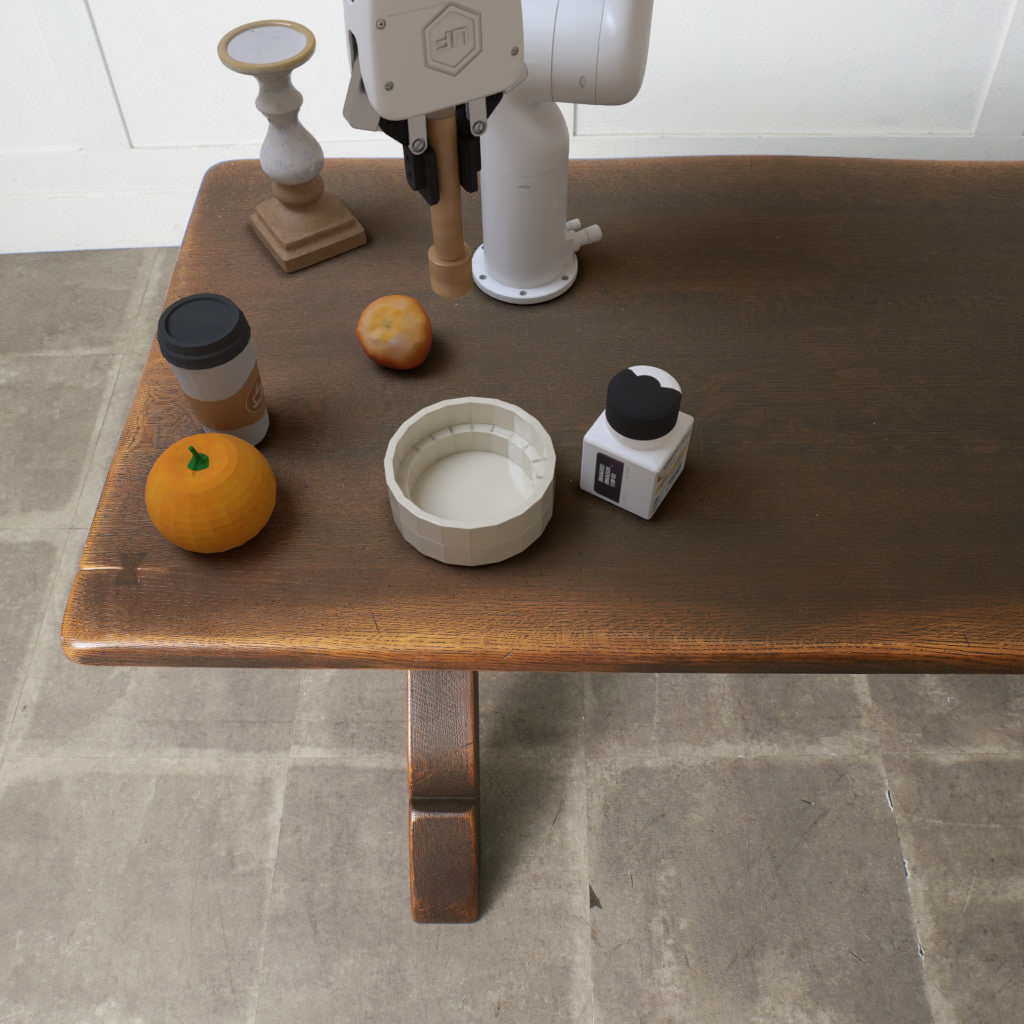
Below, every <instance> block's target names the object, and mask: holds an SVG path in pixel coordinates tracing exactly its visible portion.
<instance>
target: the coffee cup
mask: <svg viewBox="0 0 1024 1024" xmlns="http://www.w3.org/2000/svg"><path fill="white" fill-rule="evenodd" d="M251 331H252V330H251V326H250V324H249V322H248V320H247V317H246V316H245V313H244V311H242V309H241V308H240V307H239V306H237V304H236V303H235V302H234V301H233V300H232V299H231V298H229V297H227V296H225V295H223V294H218V293H213V292H212V293H211V292H210V293H209V292H202V293H195V294H191V295H187V296H184V297H182V298H180V299H178V300H175V301H174V302H172V304H169V306H167V307H166V308H165V309H164V311H162V313H161V315H160V316H159V319H158V321H157V332H156V334H157V335H156V339H157V342H158V346H159V351H160V353H161V357H163V358H164V360H166V362H167V363H168V365H169V366H170V368H171V370H172V372H173V374H174V376H175V378H176V380H177V382H178V384H179V387H180V389H181V391H182V393H183V396H185V399H186V400H187V403H188V404H189V406H190V408H191V410H192V412H193V414H194V416H195V418H196V419H197V421H198V422H199V424H200V425H201V428H202V429H203V431H204V433H221V434H228V435H233V436H235V437H238V438H240V439H242V440H244V441H246V442H248V443H250V444H252V445H253V446H254V447H255V446H256V445H258V444H259V443H260V442H262V441H263V440H264V438H265V436H266V435H267V432H268V429H269V426H270V417H269V414H268V412H269V411H268V408H267V403H266V402H267V401H266V396H265V391H264V387H263V382H262V377H261V374H260V369H259V365H258V360H257V359H256V356H255V351H254V347H253V342H252V339H251V337H252V332H251Z"/></svg>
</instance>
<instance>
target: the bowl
mask: <svg viewBox="0 0 1024 1024" xmlns="http://www.w3.org/2000/svg"><path fill="white" fill-rule="evenodd" d="M383 466H384V475H385V483H386V488H387V493H388V498H389V503H390V508H391V514H392V518H393V521H394V524H395V525H396V527H397V528H398V530H399V533H400V534H401V535H402V538H403V539H404V541H406V542H408V543H409V544H410V545H411V546H412V547H413V548H415V550H417V551H418V552H420V553H421V554H422V555H423V556H427V557H429V558H432V559H434V560H437V561H439V562H442V563H444V564H447V565H455V566H457V565H458V566H466V567H476V566H483V565H489V564H494V563H500V562H503V561H506V560H507V559H509V558H512V557H513V556H516V555H518V554H520V553H523V552H524V551H525V550H526V549H527V548H528V547H530V546H531V545H532V544H533V543H534V542H535V541H536V540H538V539H539V538H540V537H541V536H542V534H543V533H544V531H545V529H546V527H547V525H548V523H549V522H550V520H551V519H552V516H553V511H554V503H555V497H556V495H555V494H556V473H557V471H556V470H557V455H556V451H555V447H554V444H553V440H552V437H551V436H550V434H549V433H548V431H547V430H546V429H545V427H544V426H543V425H542V424H541V422H540V421H539V420H538V419H537V418H536V417H534V416H533V415H532V414H530V413H528V412H527V411H526V410H524V409H523V408H522V407H520V406H518V405H515V404H512V403H510V402H506V401H503V400H501V399H498V398H492V397H481V396H480V397H479V396H465V397H456V398H449V399H444V400H441V401H439V402H435V403H433V404H431V405H428V406H426V407H423V408H421V409H420V410H419V411H418V412H416V413H414V414H413V415H411V416H410V417H409V418H408V419H406V420H405V421H403V423H401V425H400V426H399V427H398V429H397V430H396V432H395V433H394V435H392V437H391V438H390V440H389V443H388V445H387V449H386V452H385V456H384V459H383Z"/></svg>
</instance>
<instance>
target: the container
mask: <svg viewBox="0 0 1024 1024" xmlns="http://www.w3.org/2000/svg"><path fill="white" fill-rule="evenodd" d="M682 396H683V393H682V389H681V386H680V384H679V382H678V381H677V379H675V378H674V377H673V376H672V375H671V374H670V373H668V372H667V371H665V370H664V369H661V368H659V367H655V366H651V365H633V366H631V367H627V368H625V369H622V370H621V371H619V372H617V373H616V374H615V375H613V377H611V379H610V381H609V383H608V385H607V389H606V400H605V408H604V410H603V411H602V412H601V414H600V415H599V416H598V417H597V419H596V420H595V421H594V423H592V425H591V427H590V428H589V429H588V430H587V432H586V433H585V434H584V436H583V440H582V453H581V467H580V479H579V487H580V489H581V490H583V491H585V492H587V493H588V494H592V495H593V496H596V497H598V498H600V499H602V500H604V501H606V502H608V503H610V504H612V505H615V506H617V507H619V508H620V509H621V508H622V509H623V510H626V512H627V511H628V512H629V513H631V514H634V515H636V516H637V517H640V518H642V519H644V520H650V519H652V517H653V515H654V514H655V513H656V511H657V509H658V508H659V506H660V505H661V503H662V502H663V501H664V499H665V498H666V496H667V494H668V493H669V491H670V490H671V488H673V485H674V484H675V482H676V481H677V480H678V478H679V476H680V475H681V473H682V472H683V470H684V468H685V463H686V460H687V459H686V458H687V455H688V450H689V449H688V448H689V444H690V441H691V435H692V430H693V426H694V423H695V422H694V421H695V419H694V417H693V416H692V415H689V414H688V413H685V412H683V411H681V410H680V409H681V403H682V398H683V397H682Z"/></svg>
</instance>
